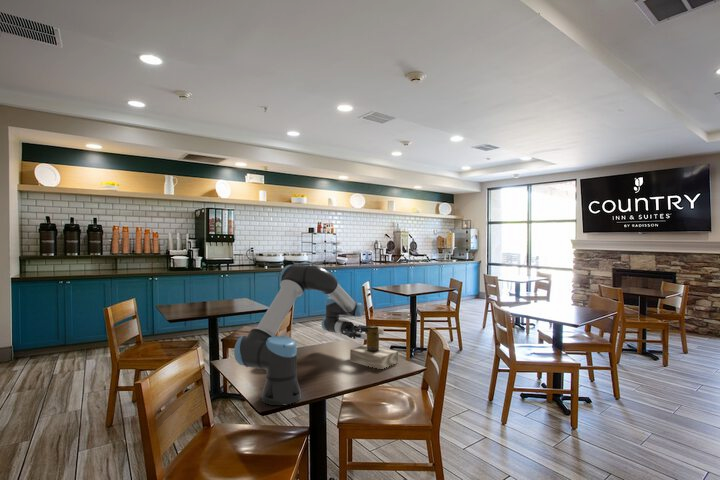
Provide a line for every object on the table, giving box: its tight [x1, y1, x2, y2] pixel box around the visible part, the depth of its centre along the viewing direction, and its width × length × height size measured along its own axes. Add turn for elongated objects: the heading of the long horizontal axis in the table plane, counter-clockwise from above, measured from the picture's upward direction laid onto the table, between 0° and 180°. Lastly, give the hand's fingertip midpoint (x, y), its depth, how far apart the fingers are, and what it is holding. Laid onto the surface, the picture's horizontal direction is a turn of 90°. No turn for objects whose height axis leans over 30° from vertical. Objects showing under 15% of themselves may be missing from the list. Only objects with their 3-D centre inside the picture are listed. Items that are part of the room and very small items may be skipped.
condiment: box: [363, 325, 384, 353], centre depth 196 cm, size 7×8×12 cm
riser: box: [349, 343, 399, 370], centre depth 196 cm, size 14×20×6 cm
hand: (375, 334), depth 196 cm, fingers open, 13 cm apart
